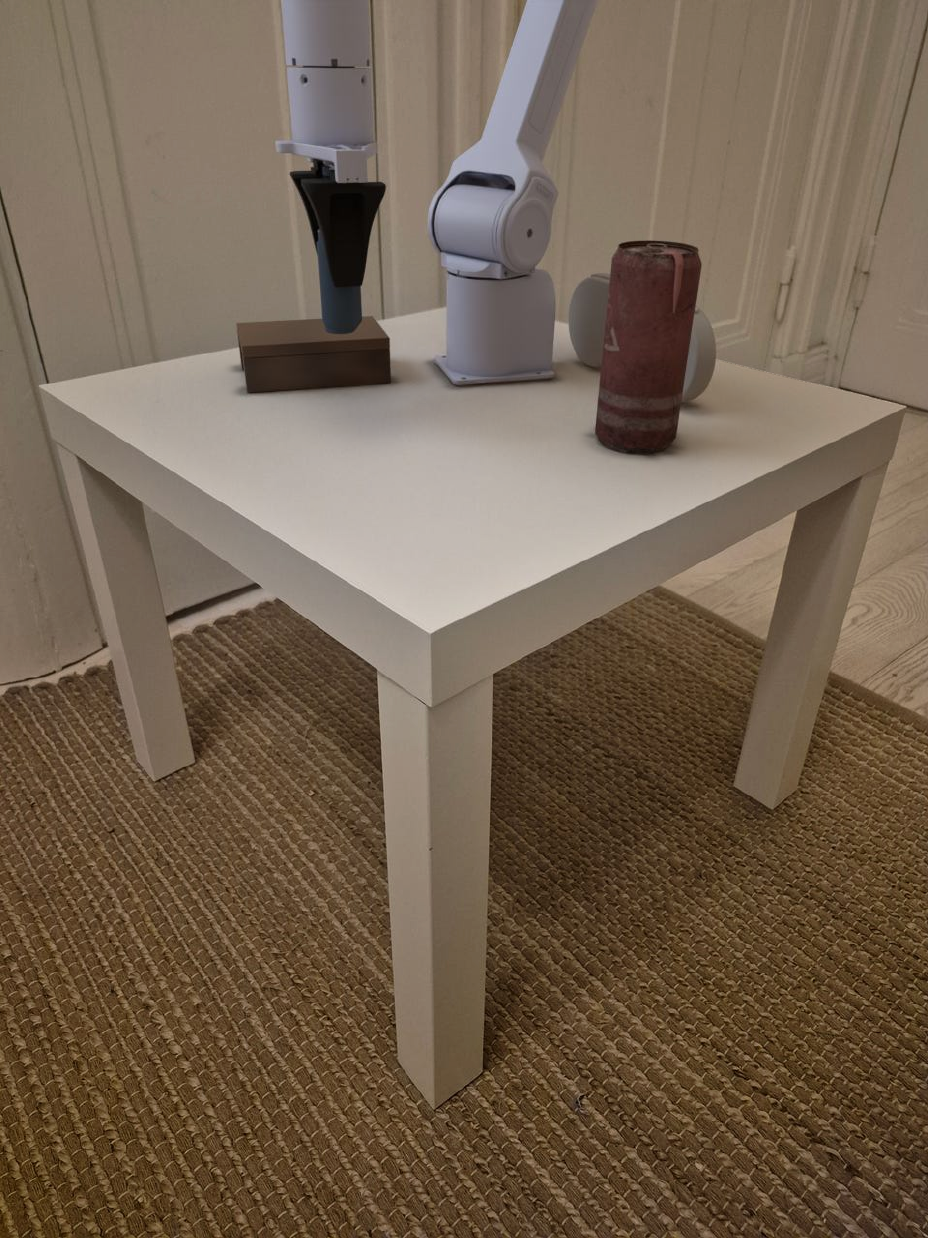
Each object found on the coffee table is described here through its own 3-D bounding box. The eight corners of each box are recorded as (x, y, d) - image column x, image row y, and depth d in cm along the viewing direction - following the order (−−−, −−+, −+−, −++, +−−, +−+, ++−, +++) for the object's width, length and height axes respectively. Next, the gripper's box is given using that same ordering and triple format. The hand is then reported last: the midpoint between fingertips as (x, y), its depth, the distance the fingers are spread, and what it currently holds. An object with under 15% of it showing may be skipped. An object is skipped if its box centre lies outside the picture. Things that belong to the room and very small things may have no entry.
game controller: (710, 412, 74) (727, 309, 69) (688, 416, 73) (704, 312, 69) (584, 352, 89) (591, 264, 84) (564, 355, 88) (571, 266, 83)
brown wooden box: (374, 358, 86) (372, 315, 84) (391, 382, 79) (389, 337, 77) (241, 366, 83) (236, 322, 81) (247, 392, 76) (241, 346, 74)
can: (627, 462, 64) (652, 256, 57) (578, 434, 69) (595, 240, 62) (693, 449, 67) (725, 250, 59) (641, 422, 71) (665, 235, 64)
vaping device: (366, 318, 72) (358, 150, 65) (353, 335, 67) (344, 157, 61) (334, 317, 72) (323, 149, 65) (319, 334, 67) (306, 156, 61)
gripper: (259, 65, 65) (277, 261, 72) (281, 67, 53) (300, 301, 61) (354, 66, 67) (363, 258, 74) (396, 69, 55) (401, 296, 62)
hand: (341, 277), depth 68 cm, fingers closed on vaping device, 5 cm apart
